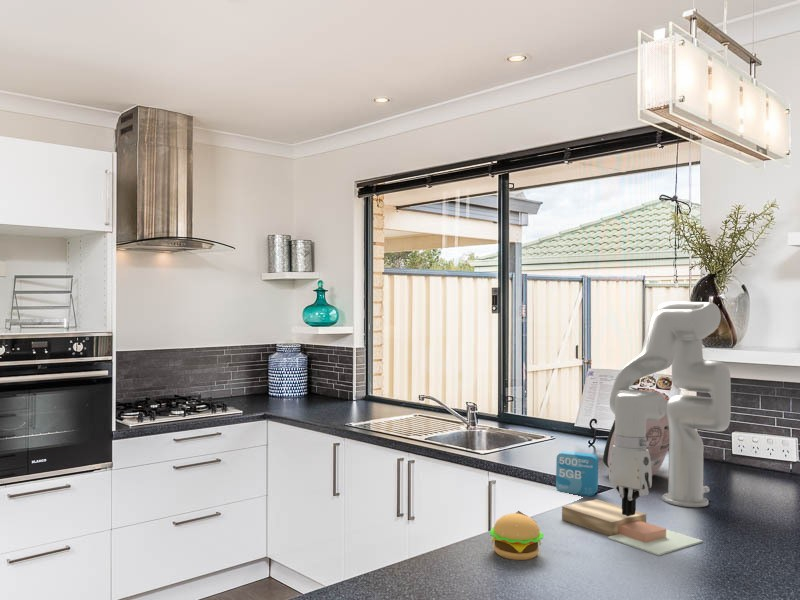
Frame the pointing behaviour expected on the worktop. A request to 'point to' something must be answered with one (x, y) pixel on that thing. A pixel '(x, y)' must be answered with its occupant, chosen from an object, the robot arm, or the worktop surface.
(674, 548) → the sage mat
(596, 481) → the data package
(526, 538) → the hamburger
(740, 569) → the worktop surface
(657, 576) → the worktop surface
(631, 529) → the terracotta coaster
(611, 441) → the pink rounded piece
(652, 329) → the robot arm
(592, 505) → the oak board
